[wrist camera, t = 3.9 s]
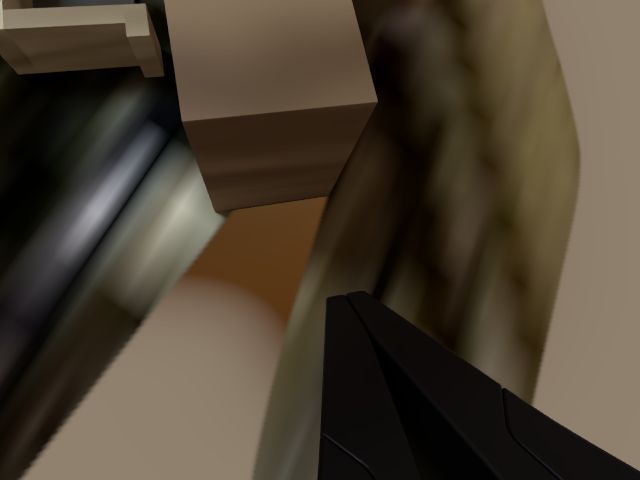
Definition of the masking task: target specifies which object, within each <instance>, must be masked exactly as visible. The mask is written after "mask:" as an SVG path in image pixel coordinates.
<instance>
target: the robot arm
mask: <svg viewBox="0 0 640 480" xmlns="http://www.w3.org/2000/svg"><path fill="white" fill-rule="evenodd" d="M317 480H640V471H638V470H637V469H635V468H633V467H632V466H630V465H628V464H626V463H625V462H623V461H621V460H620V459H618V458H616V457H614V456H613V455H611V454H609V453H608V452H606V451H604V450H602V449H601V448H599V447H597V446H595V445H594V444H592V443H590V442H589V441H587V440H585V439H584V438H582V437H580V436H579V435H577V434H575V433H574V432H572V431H570V430H569V429H567V428H566V427H564V426H562V425H560V424H559V423H557V422H556V421H554V420H553V419H551V418H549V417H548V416H546V415H545V414H543V413H542V412H540V411H539V410H537V409H536V408H534V407H533V406H531V405H530V404H528V403H527V402H525V401H524V400H522V399H521V398H519V397H518V396H516V395H515V394H513V393H512V392H511V391H509V390H508V389H506V388H503V389H502V386H501V385H500V384H499V383H497V382H496V381H494V380H493V379H491V378H490V377H489V376H487V375H486V374H484V373H483V372H481V371H480V370H478V369H477V368H475V367H474V366H473V365H471V364H470V363H468V362H467V361H465V360H464V359H462V358H461V357H459V356H458V355H457V354H455V353H454V352H452V351H451V350H449V349H448V348H446V347H445V346H443V345H442V344H441V343H439V342H438V341H436V340H435V339H433V338H432V337H430V336H429V335H427V334H426V333H425V332H423V331H422V330H420V329H419V328H417V327H416V326H414V325H413V324H412V323H410V322H409V321H407V320H406V319H404V318H403V317H401V316H400V315H398V314H397V313H396V312H394V311H393V310H391V309H390V308H388V307H387V306H385V305H384V304H382V303H381V302H380V301H378V300H377V299H375V298H374V297H372V296H371V295H369V294H368V293H366V292H365V291H357V292H352V293H348V294H346V295H337V296H332V297H328V298H327V299H326V313H325V335H324V358H323V381H322V404H321V426H320V444H319V464H318V477H317Z"/></svg>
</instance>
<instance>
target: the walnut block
mask: <svg viewBox="0 0 640 480" xmlns="http://www.w3.org/2000/svg"><path fill="white" fill-rule="evenodd" d="M164 2H165V9H166V16H167V22H168V29H169V36H170V43H171V50H172V56H173V63H174V70H175V77H176V83H177V90H178V97H179V104H180V111H181V117H182V123H183V125H184V128H185V131H186V134H187V136H188V139H189V142H190V145H191V147H192V150H193V153H194V155H195V158H196V161H197V164H198V166H199V169H200V172H201V175H202V177H203V180H204V183H205V186H206V188H207V191H208V194H209V197H210V199H211V202H212V205H213V208H214V210H215V212H219V211H226V210H233V209H234V210H238V209H244V208H251V207H258V206H265V205H272V204H278V203H285V202H292V201H299V200H305V199H312V198H319V197H326V196H328V195H329V194H330V192H331V190H332V188H333V186H334V184H335V182H336V181H337V179H338V177H339V175H340V173H341V171H342V169H343V167H344V165H345V163H346V162H347V160H348V158H349V156H350V154H351V152H352V150H353V148H354V146H355V144H356V143H357V141H358V139H359V137H360V135H361V133H362V131H363V129H364V127H365V125H366V123H367V122H368V120H369V118H370V116H371V114H372V112H373V110H374V108H375V106H376V104H377V103H378V100H377V96H376V92H375V88H374V84H373V81H372V77H371V73H370V69H369V65H368V61H367V57H366V53H365V50H364V46H363V42H362V38H361V34H360V30H359V26H358V22H357V18H356V15H355V11H354V7H353V3H352V0H164Z"/></svg>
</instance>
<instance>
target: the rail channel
mask: <svg viewBox="0 0 640 480" xmlns="http://www.w3.org/2000/svg"><path fill="white" fill-rule="evenodd" d="M0 55H1V56H2V57H3V58H4V59H5V60H6V61H7V62H8V63H9V65H10V66H11V67H12V68H13V69H14V70H15V71H16V72H17V73H18V74H32V73H46V72H60V71H74V70H88V69H101V68H115V67H129V66H140V67H141V70H142V72H143V74H144V76H145V78H148V77H161V76H165V75H164V68H163V61H162V54H161V48H160V45H159V42H158V39H157V36H156V33H155V30H154V27H153V24H152V22H151V19H150V16H149V13H148V10H147V7H146V4H135V0H0Z"/></svg>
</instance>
